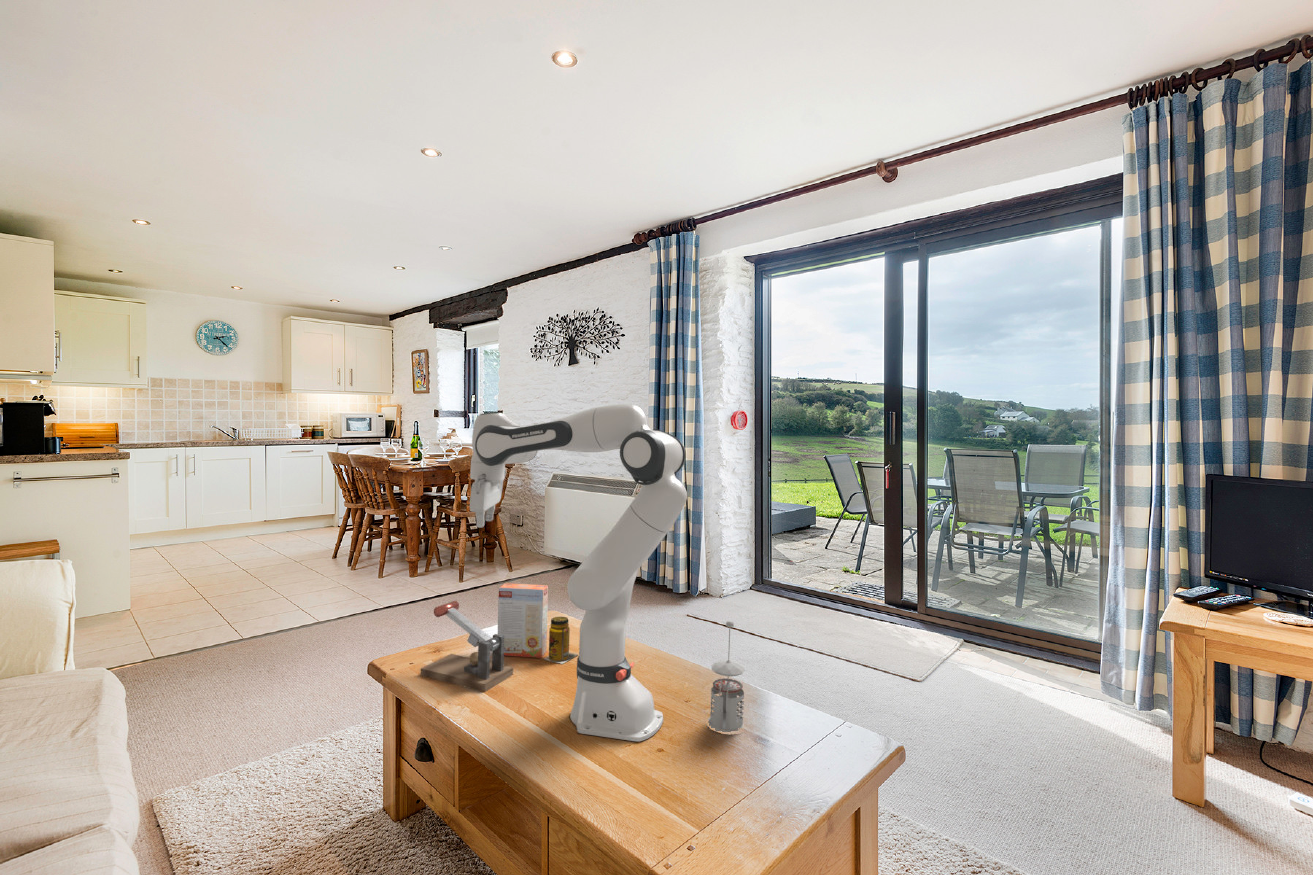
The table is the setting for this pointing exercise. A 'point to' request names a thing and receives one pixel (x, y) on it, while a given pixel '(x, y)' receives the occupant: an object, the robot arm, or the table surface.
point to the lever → (466, 625)
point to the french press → (727, 695)
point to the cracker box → (523, 619)
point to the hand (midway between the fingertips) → (484, 523)
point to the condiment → (559, 641)
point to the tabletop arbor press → (472, 668)
